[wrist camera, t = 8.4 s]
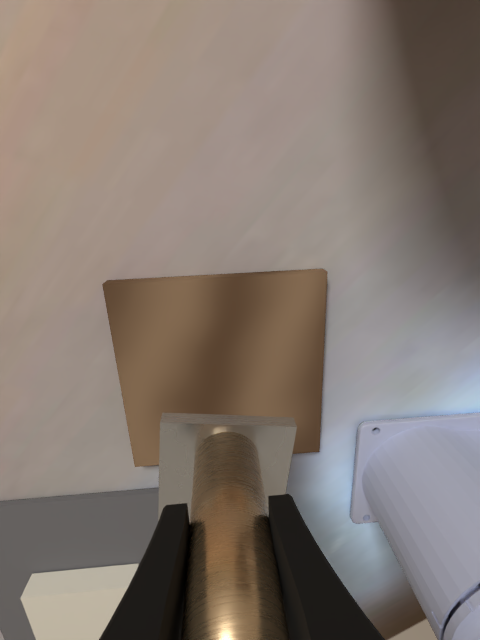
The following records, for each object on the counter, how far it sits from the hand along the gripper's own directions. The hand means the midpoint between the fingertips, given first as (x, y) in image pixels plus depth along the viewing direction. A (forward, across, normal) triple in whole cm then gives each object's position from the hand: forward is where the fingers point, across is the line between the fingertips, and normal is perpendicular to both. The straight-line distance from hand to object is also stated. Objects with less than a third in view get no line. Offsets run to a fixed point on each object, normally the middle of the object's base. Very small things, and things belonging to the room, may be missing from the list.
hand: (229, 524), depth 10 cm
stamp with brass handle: (+3, 0, +2) cm, 4 cm away
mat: (+10, +10, +17) cm, 22 cm away
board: (+10, 0, 0) cm, 10 cm away
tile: (+9, +10, +14) cm, 19 cm away
